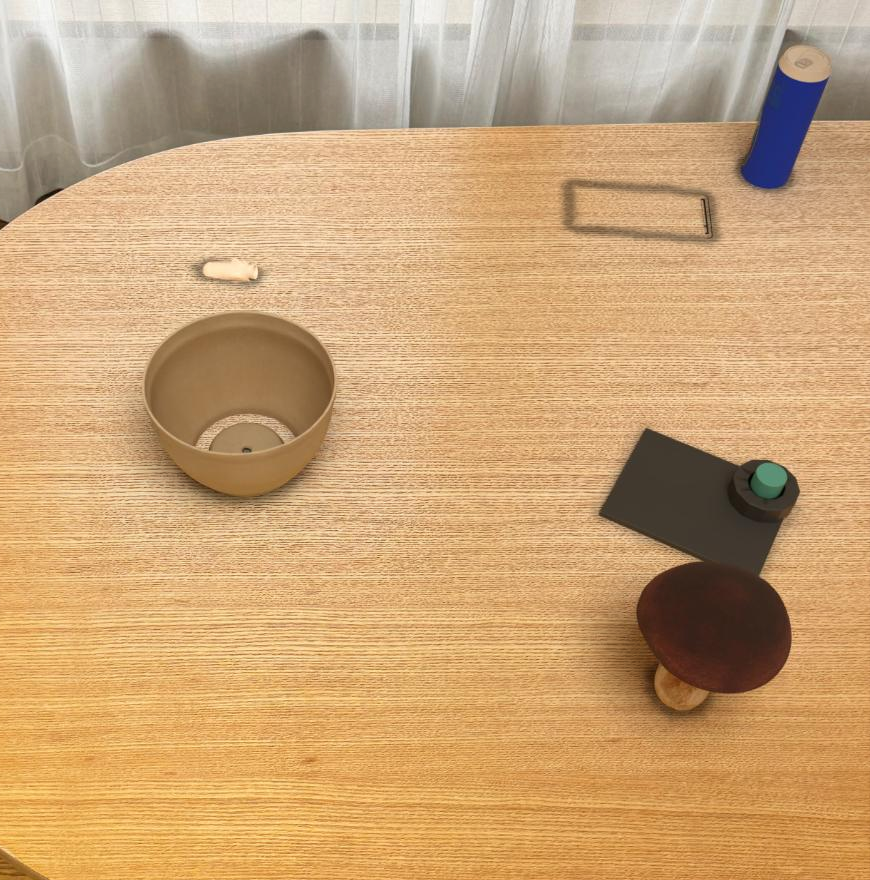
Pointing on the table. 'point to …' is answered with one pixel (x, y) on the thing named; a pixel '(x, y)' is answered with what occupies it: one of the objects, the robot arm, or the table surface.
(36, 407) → the table surface
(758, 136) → the beverage can
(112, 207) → the table surface
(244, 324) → the planter bowl
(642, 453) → the scale
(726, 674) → the decorative mushroom
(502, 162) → the table surface
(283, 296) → the table surface
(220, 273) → the small white plastic part
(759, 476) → the button
